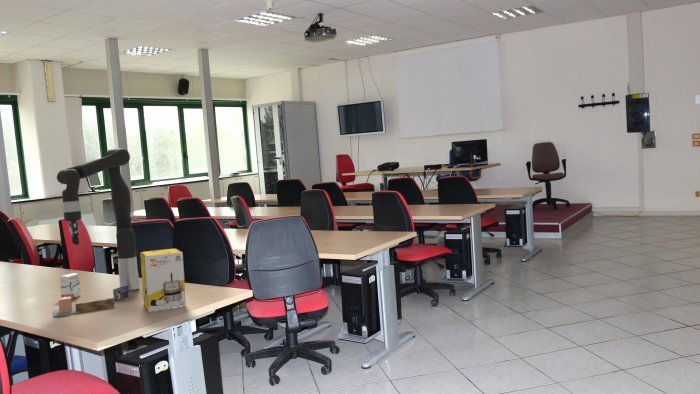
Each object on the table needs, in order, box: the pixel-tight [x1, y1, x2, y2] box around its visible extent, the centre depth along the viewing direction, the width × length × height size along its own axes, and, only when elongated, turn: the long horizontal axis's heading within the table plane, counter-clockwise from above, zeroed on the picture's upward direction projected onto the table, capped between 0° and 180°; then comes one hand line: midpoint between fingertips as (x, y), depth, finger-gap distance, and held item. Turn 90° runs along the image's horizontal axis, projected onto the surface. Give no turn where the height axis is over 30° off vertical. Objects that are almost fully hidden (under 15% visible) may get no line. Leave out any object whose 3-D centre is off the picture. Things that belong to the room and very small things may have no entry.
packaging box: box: [139, 248, 187, 313], centre depth 257 cm, size 16×16×25 cm
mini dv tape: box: [112, 286, 129, 302], centre depth 275 cm, size 8×2×6 cm, turn 160°
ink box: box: [59, 272, 81, 300], centre depth 285 cm, size 9×5×12 cm, turn 168°
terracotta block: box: [58, 296, 73, 313], centre depth 253 cm, size 5×5×6 cm
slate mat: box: [52, 306, 80, 318], centre depth 254 cm, size 10×12×1 cm
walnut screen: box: [75, 297, 115, 313], centre depth 257 cm, size 16×2×4 cm, turn 120°
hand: (75, 243), depth 271 cm, fingers open, 8 cm apart
